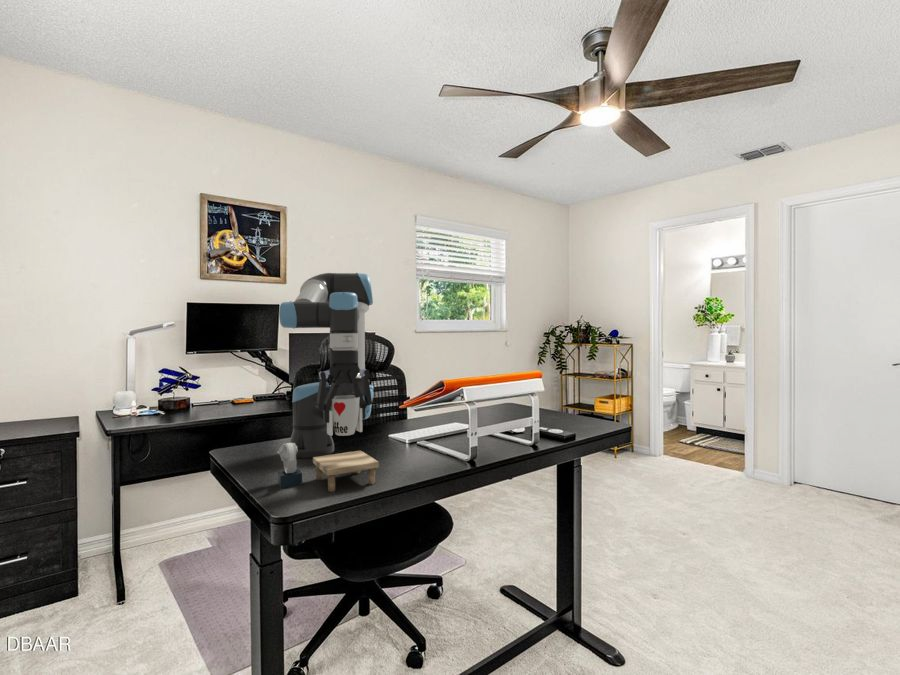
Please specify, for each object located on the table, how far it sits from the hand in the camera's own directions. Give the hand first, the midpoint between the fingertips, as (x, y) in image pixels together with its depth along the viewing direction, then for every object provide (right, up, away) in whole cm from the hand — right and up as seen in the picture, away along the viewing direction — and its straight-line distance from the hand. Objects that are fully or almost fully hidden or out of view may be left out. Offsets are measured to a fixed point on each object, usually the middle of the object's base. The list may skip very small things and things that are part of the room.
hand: (344, 432), depth 131 cm
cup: (0, 0, 0) cm, 0 cm away
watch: (-15, -14, -2) cm, 20 cm away
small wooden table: (0, -13, 0) cm, 13 cm away
